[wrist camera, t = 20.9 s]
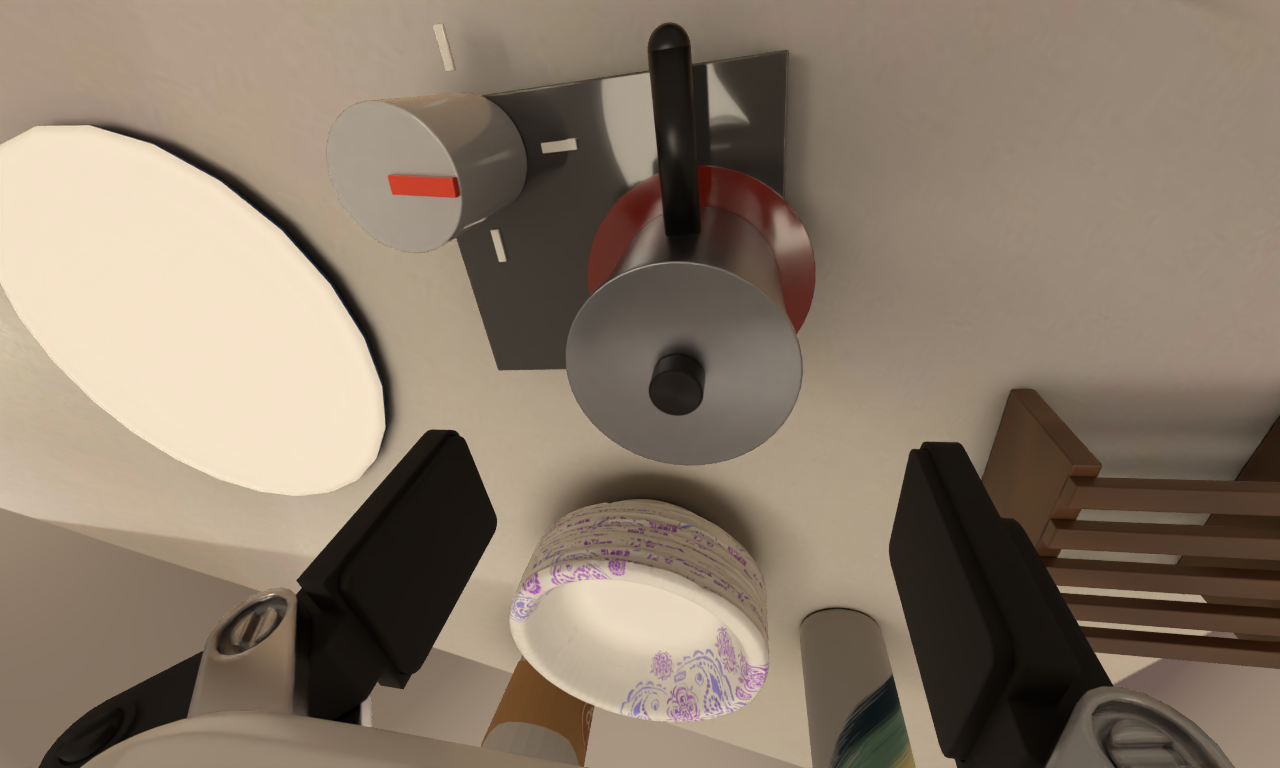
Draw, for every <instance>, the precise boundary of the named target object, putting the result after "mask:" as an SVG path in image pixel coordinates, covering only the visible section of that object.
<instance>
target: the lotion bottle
mask: <svg viewBox="0 0 1280 768" xmlns="http://www.w3.org/2000/svg"><path fill="white" fill-rule="evenodd" d="M800 644H801V656H802V666H803V676H804V686H805V696H806V706H807V716H808V726H809V736H810V745H811V755H812V765H813V768H916V766H915V762H914V758H913V754H912V750H911V746H910V742H909V738H908V734H907V730H906V726H905V722H904V718H903V714H902V710H901V706H900V702H899V698H898V693H897V689H896V685H895V681H894V677H893V673H892V669H891V665H890V661H889V657H888V654H887V650H886V646H885V642H884V639H883V636H882V633H881V630H880V628H879V626H878V625H877V624H876V623H875V622H874V621H873V620H872V619H871V618H869V617H868V616H866V615H864V614H861V613H859V612H855V611H851V610H845V609H830V610H824V611H820V612H817V613H814V614H812V615H810V616H809V617H808V618H806V619H805V620H804V622H803V623H802V625H801V628H800Z"/></svg>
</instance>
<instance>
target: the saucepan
mask: <svg viewBox="0 0 1280 768" xmlns="http://www.w3.org/2000/svg"><path fill="white" fill-rule="evenodd" d="M648 61H649V72H650V82H651V93H652V103H653V114H654V124H655V135H656V145H657V156H658V166H659V177H660V187H661V198H662V208H663V215H661V216H659V217H657V218H656V219H654V220H652V221H651V222H649V223H648V224H647V225H646V226H645V227H643V228H642V229H641V230H640V231H639V233H638V234H637V235H636V236H635V237H634V239H633V240H632V241H631V243H630V244H629V246H628V247H627V249H626V251H625V252H624V254H623V255H622V257H621V258H620V260H619V262H618V263H617V265H616V266H615V268H614V269H613V271H612V273H611V274H610V276H609V277H608V279H607V280H606V281H605V282H603V283H602V284H601V285H600V286H598V287H597V288H596V289H595V290H594V292H593V293H592V294H591V295H590V296H589V297H588V298H587V300H586V301H585V303H584V304H583V306H582V307H581V309H580V310H579V312H578V313H577V315H576V317H575V319H574V321H573V323H572V325H571V329H570V332H569V335H568V339H567V346H566V368H567V374H568V379H569V382H570V386H571V389H572V392H573V394H574V396H575V398H576V400H577V402H578V404H579V405H580V407H581V409H582V410H583V412H584V413H585V415H586V416H587V417H588V418H589V420H590V421H591V422H592V423H593V424H594V425H595V426H596V427H597V428H598V429H599V430H600V431H601V432H602V433H603V434H604V435H606V436H607V437H608V438H609V439H611V440H612V441H614V442H615V443H617V444H618V445H620V446H621V447H623V448H625V449H627V450H629V451H631V452H633V453H635V454H638V455H640V456H643V457H645V458H648V459H652V460H655V461H659V462H664V463H670V464H677V465H705V464H713V463H718V462H722V461H726V460H730V459H733V458H735V457H738V456H741V455H743V454H745V453H747V452H749V451H751V450H753V449H755V448H756V447H758V446H759V445H761V444H762V443H764V442H765V441H766V440H768V439H769V438H770V437H771V436H772V435H773V434H775V432H776V431H777V430H778V429H779V428H780V427H781V426H782V425H783V424H784V422H785V421H786V419H787V418H788V416H789V415H790V413H791V411H792V409H793V407H794V405H795V403H796V401H797V398H798V395H799V392H800V388H801V382H802V375H803V369H802V355H801V350H800V345H799V340H798V337H797V334H796V332H795V329H794V326H793V324H792V322H791V321H790V319H789V317H788V315H787V313H786V307H785V302H784V296H783V290H782V285H781V279H780V273H779V268H778V263H777V261H776V258H775V255H774V253H773V251H772V249H771V247H770V245H769V243H768V242H767V241H766V239H765V238H764V236H763V235H762V234H761V233H760V232H759V231H758V230H757V229H756V228H755V227H754V226H753V225H751V224H750V223H749V222H748V221H746V220H745V219H743V218H741V217H739V216H738V215H736V214H733V213H731V212H729V211H726V210H722V209H718V208H714V207H706V206H700V201H699V183H698V165H697V148H696V130H695V112H694V95H693V77H692V59H691V45H690V39H689V36H688V34H687V32H686V31H685V30H684V29H683V28H682V27H681V26H680V25H678V24H676V23H664V24H662V25H660V26H658V27H657V28H656V29H655V30H654V31H653V33H652V34H651V36H650V39H649V42H648Z"/></svg>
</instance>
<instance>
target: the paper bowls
mask: <svg viewBox="0 0 1280 768" xmlns="http://www.w3.org/2000/svg"><path fill="white" fill-rule="evenodd" d="M509 622H510V629H511V633H512V636H513V639H514V641H515V643H516V645H517V647H518V649H519V650H520V652H521V653H522V655H523V656H524V657H525V659H526V660H527V661H528V662H529V663H530V664H531V665H532V666H533V667H534V668H535V669H536V670H537V671H538V672H539V673H540V674H541V675H542V676H543V677H545V678H546V679H547V680H548V681H550V682H551V683H553V684H554V685H556V686H557V687H559V688H560V689H562V690H563V691H565V692H567V693H568V694H570V695H572V696H574V697H576V698H578V699H580V700H582V701H584V702H587V703H589V704H591V705H594V706H596V707H599V708H602V709H605V710H607V711H611V712H614V713H617V714H621V715H626V716H630V717H634V718H640V719H645V720H652V721H662V722H692V721H700V720H706V719H712V718H716V717H719V716H723V715H726V714H729V713H731V712H733V711H736V710H738V709H739V708H741V707H743V706H744V705H746V704H747V703H749V702H750V701H751V700H752V699H753V698H754V697H755V696H756V695H757V694H758V692H759V691H760V689H761V688H762V686H763V684H764V682H765V680H766V676H767V673H768V669H769V646H768V621H767V604H766V590H765V584H764V580H763V578H762V575H761V572H760V570H759V567H758V566H757V564H756V562H755V561H754V559H753V558H752V556H751V555H750V554H749V553H748V552H747V550H746V549H745V548H744V547H743V546H742V545H741V544H740V543H739V542H738V541H736V540H735V539H734V538H733V537H732V536H731V535H729V534H728V533H727V532H725V531H724V530H723V529H721V528H720V527H718V526H717V525H715V524H713V523H711V522H709V521H707V520H706V519H704V518H702V517H700V516H697V515H696V514H694V513H692V512H690V511H688V510H686V509H684V508H682V507H679V506H676V505H673V504H670V503H666V502H662V501H657V500H650V499H632V500H624V501H619V502H613V503H610V504H609V503H600V504H596V505H592V506H587V507H584V508H581V509H577V510H575V511H573V512H570V513H568V514H567V515H565V516H564V517H562V518H560V519H559V520H558V521H556V522H555V523H554V524H553V525H551V526H550V527H549V528H548V530H547V531H546V532H545V534H544V536H542V538H541V540H540V542H539V543H538V544H537V546H536V548H535V550H534V553H533V555H532V557H531V559H530V562H529V563H528V566H527V568H526V570H525V572H524V574H523V576H522V579H521V582H520V584H519V587H518V589H517V591H516V593H515V594H514V596H513V599H512V601H511V606H510V611H509Z"/></svg>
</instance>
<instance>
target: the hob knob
mask: <svg viewBox="0 0 1280 768" xmlns="http://www.w3.org/2000/svg"><path fill="white" fill-rule="evenodd" d="M326 157H327V166H328V172H329V176H330V180H331V182H332V185H333V188H334V190H335V192H336V194H337V197H338V199H339V200H340V202H341V204H342V205H343V207H344V209H345V210H346V211H347V213H348V214H349V216H350V217H351V218H352V219H353V220H354V221H355V223H356V224H357V225H358V226H359V227H360V228H361V229H362V230H363V231H365V232H366V233H367V234H368V235H370V236H371V237H372V238H374V239H375V240H377V241H378V242H380V243H382V244H384V245H386V246H387V247H390V248H393V249H395V250H399V251H402V252H408V253H424V252H429V251H432V250H435V249H437V248H439V247H441V246H443V245H444V244H446V243H448V242H449V241H451V240H453V239H455V238H456V237H458V236H460V235H461V234H463V233H465V232H466V231H468V230H470V229H471V228H473V227H475V226H476V225H478V224H480V223H481V222H483V221H485V220H486V219H488V218H490V217H491V216H493V215H495V214H497V213H498V212H500V211H502V210H503V209H505V208H507V207H508V206H509V205H511V204H512V203H513V202H514V201H515V200H516V199H517V197H518V196H519V194H520V193H521V191H522V189H523V186H524V183H525V179H526V174H527V158H526V152H525V148H524V144H523V141H522V139H521V136H520V134H519V132H518V130H517V128H516V126H515V125H514V123H513V122H512V120H511V119H510V118H509V117H508V115H507V114H506V113H505V112H504V111H503V110H502V109H501V108H500V107H499V106H497V105H496V104H495V103H493V102H492V101H490V100H488V99H487V98H485V97H482V96H480V95H477V94H473V93H465V92H461V93H449V94H438V95H427V96H416V97H405V98H394V99H383V100H372V101H364V102H360V103H356V104H354V105H352V106H350V107H348V108H347V109H346V110H344V111H343V112H342V113H341V114H340V115H339V116H338V117H337V119H336V120H335V122H334V124H333V125H332V128H331V130H330V132H329V136H328V140H327V149H326Z"/></svg>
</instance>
